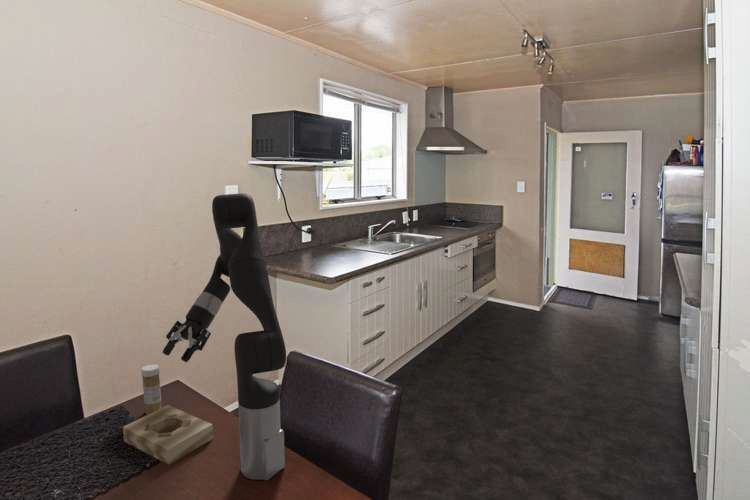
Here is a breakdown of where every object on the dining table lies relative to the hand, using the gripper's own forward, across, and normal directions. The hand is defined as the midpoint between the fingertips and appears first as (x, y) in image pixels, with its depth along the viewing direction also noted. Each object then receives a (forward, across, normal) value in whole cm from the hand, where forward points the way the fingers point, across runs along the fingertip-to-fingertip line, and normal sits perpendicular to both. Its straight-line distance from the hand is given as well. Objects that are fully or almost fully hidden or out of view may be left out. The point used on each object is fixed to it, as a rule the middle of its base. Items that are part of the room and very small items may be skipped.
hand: (174, 357), depth 140 cm
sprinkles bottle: (+15, 0, +4) cm, 16 cm away
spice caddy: (+20, +16, 0) cm, 25 cm away
